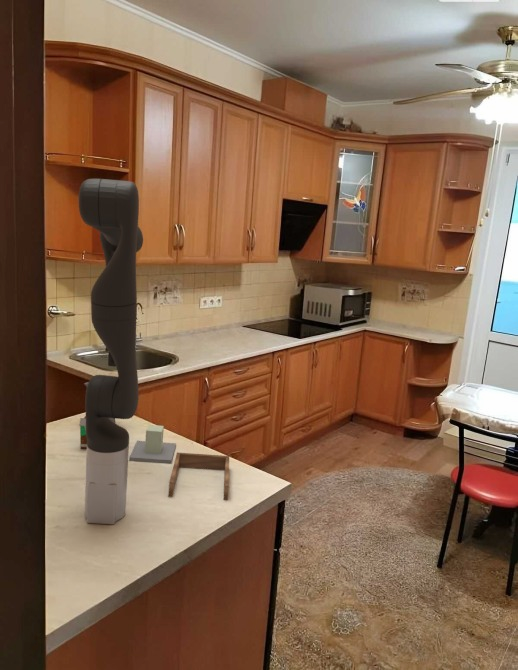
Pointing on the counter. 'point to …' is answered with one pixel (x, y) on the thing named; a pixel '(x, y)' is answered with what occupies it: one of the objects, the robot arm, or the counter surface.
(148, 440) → the sage block
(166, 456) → the slate mat
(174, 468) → the wooden u-shaped frame
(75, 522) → the counter surface
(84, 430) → the food container
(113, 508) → the robot arm
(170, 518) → the counter surface
